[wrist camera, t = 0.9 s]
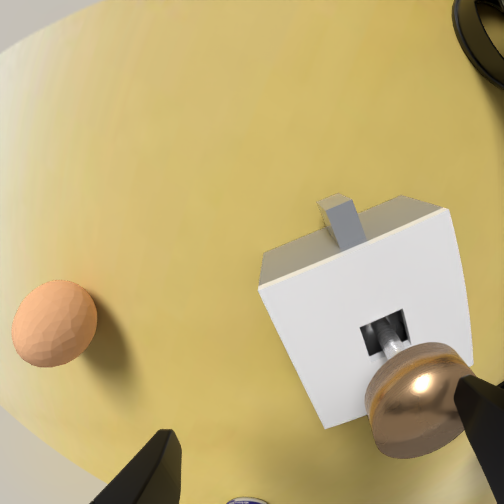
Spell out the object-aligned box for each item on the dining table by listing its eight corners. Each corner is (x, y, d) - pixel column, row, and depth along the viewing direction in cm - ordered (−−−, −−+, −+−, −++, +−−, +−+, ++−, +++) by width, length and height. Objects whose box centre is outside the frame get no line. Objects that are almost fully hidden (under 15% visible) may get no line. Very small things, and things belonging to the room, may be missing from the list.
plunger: (423, 335, 17) (488, 427, 9) (346, 368, 18) (377, 479, 10) (405, 260, 16) (491, 335, 8) (319, 297, 17) (348, 403, 9)
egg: (85, 342, 25) (32, 398, 17) (46, 289, 24) (-18, 331, 16) (126, 314, 23) (71, 374, 15) (82, 253, 22) (11, 293, 14)
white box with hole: (434, 318, 22) (473, 364, 15) (315, 369, 23) (324, 429, 17) (391, 166, 19) (436, 169, 13) (250, 225, 21) (239, 252, 15)
